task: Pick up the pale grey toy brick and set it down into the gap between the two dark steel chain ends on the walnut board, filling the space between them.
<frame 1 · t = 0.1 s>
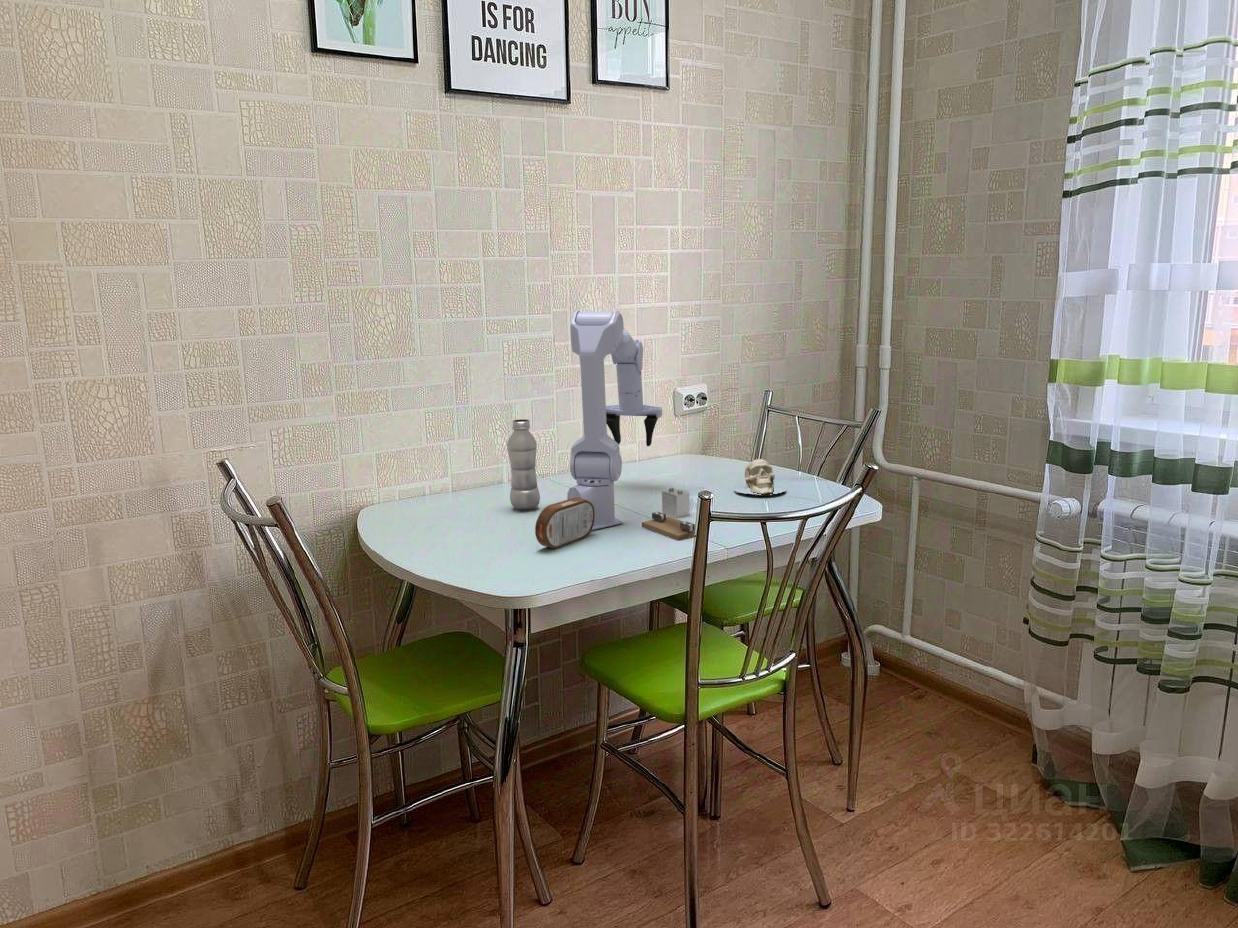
hand: (633, 444, 220), 11 cm above the table, tool pointing down, fingers open, 7 cm apart
board: (673, 530, 187), on the table
grey toy brick: (675, 514, 199), on the table
skull: (759, 493, 215), on the table
chain ends: (672, 521, 187), on the board, point 1 cm above the table
plastic bottle: (525, 509, 206), on the table
tin: (567, 543, 181), on the table
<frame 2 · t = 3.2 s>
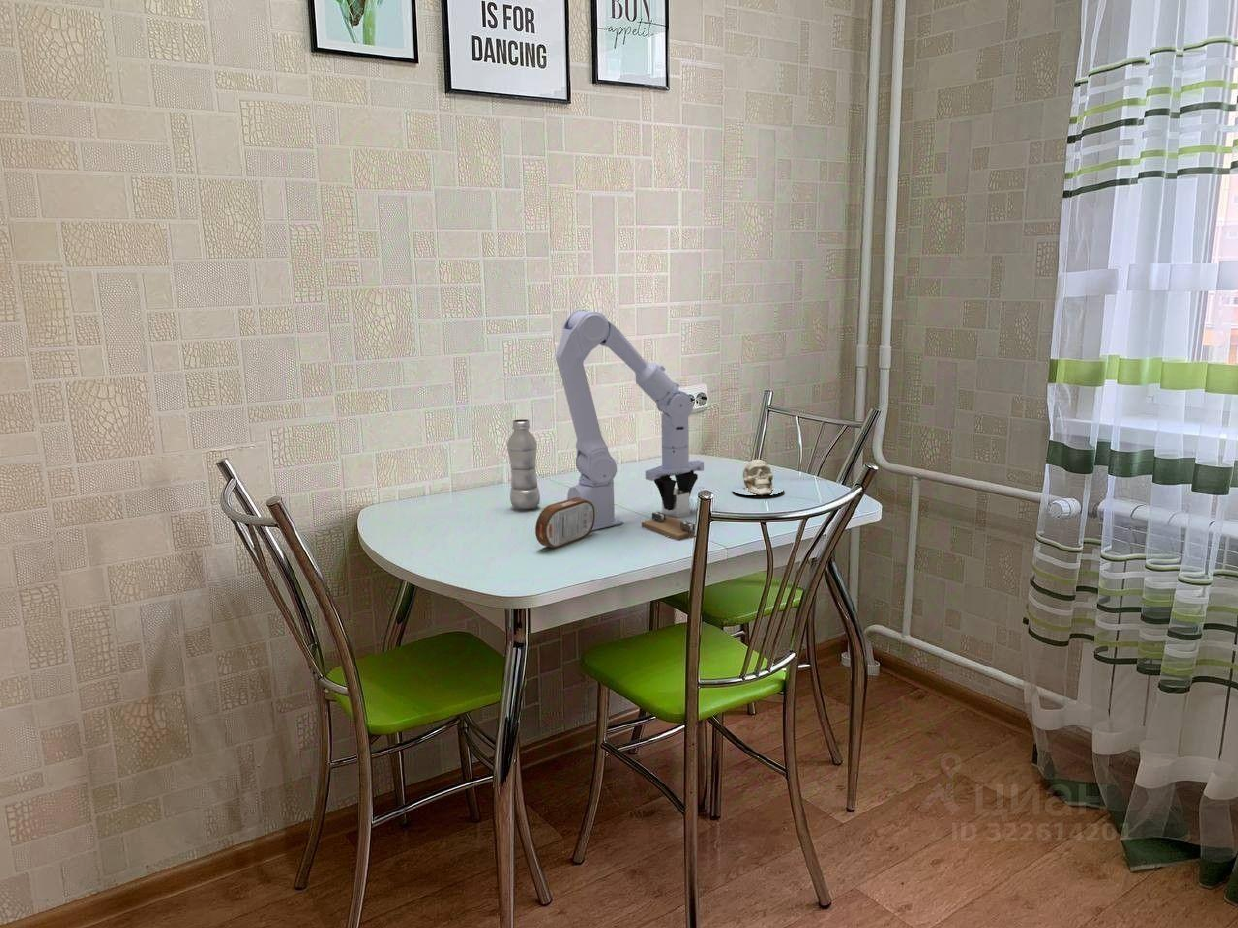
hand: (675, 507, 198), 1 cm above the table, tool pointing down, fingers closed on grey toy brick, 3 cm apart
grey toy brick: (675, 513, 199), on the table, touching gripper
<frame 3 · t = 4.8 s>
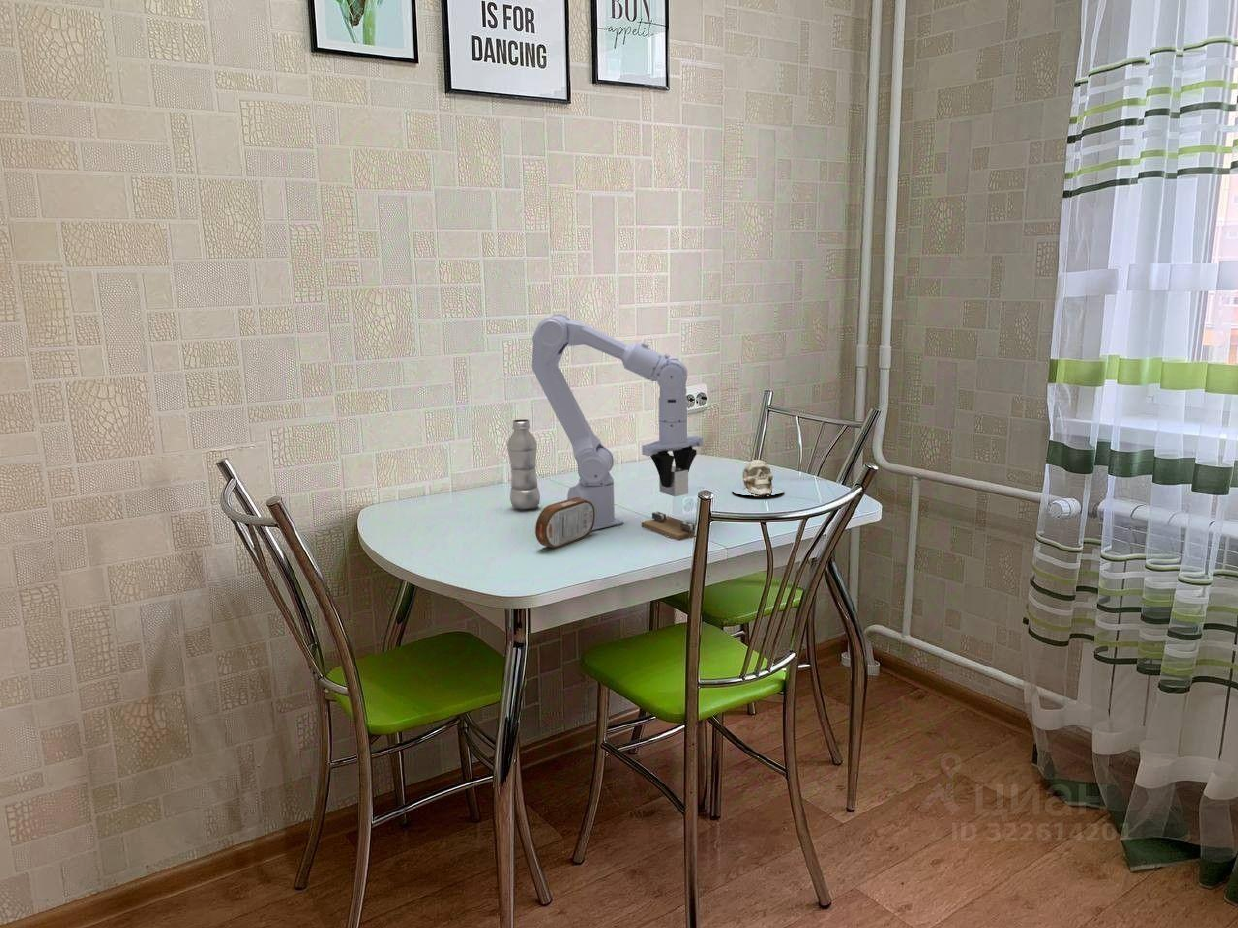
hand: (673, 485, 189), 8 cm above the table, tool pointing down, fingers closed on grey toy brick, 3 cm apart
grey toy brick: (673, 492, 190), point 7 cm above the table, touching gripper
when the fingers open (3 cm above the table, at t = 6.8 s): grey toy brick stays where it is, resting on board.
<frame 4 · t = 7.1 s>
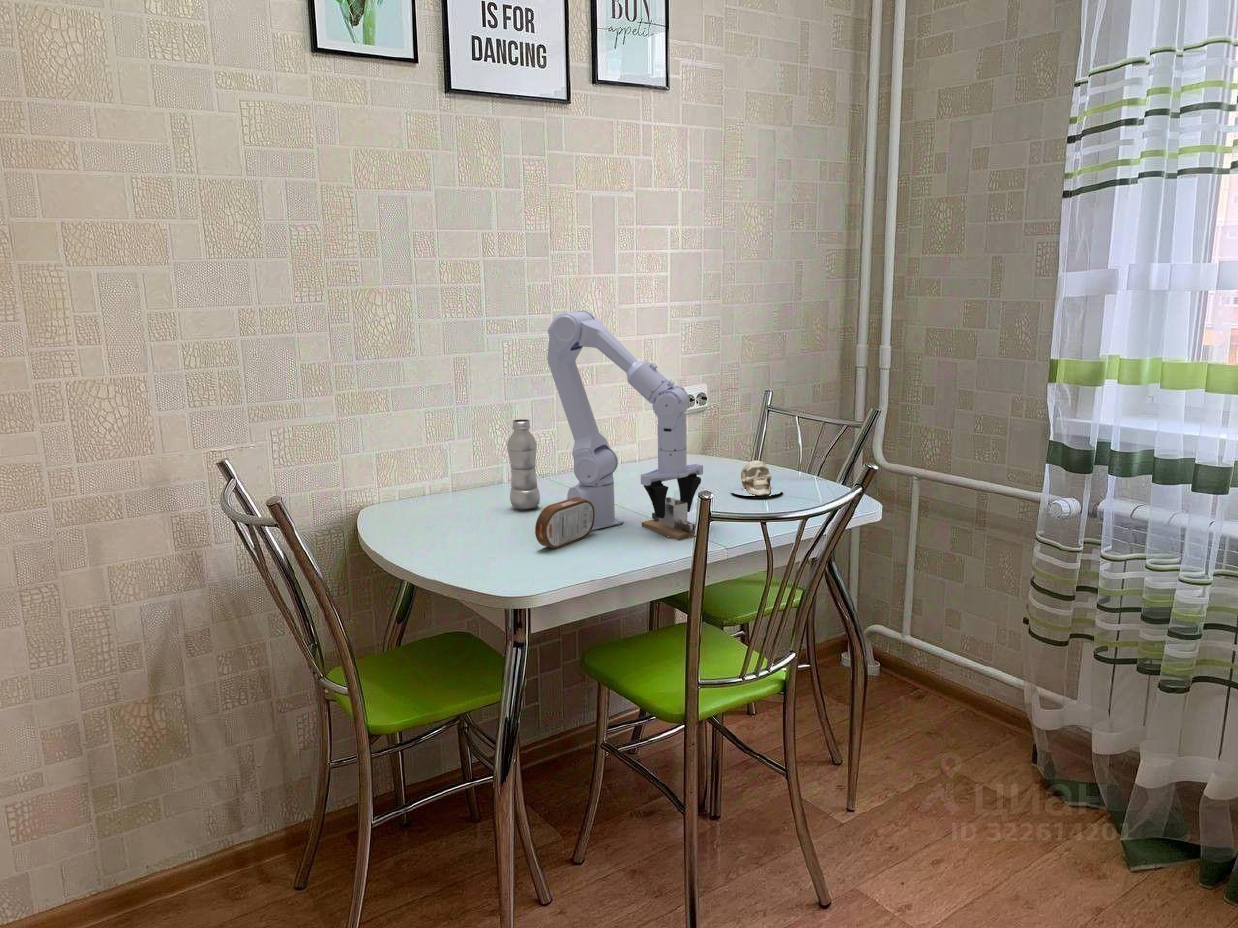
hand: (672, 514, 186), 3 cm above the table, tool pointing down, fingers open, 6 cm apart
grey toy brick: (673, 525, 187), point 1 cm above the table, touching board
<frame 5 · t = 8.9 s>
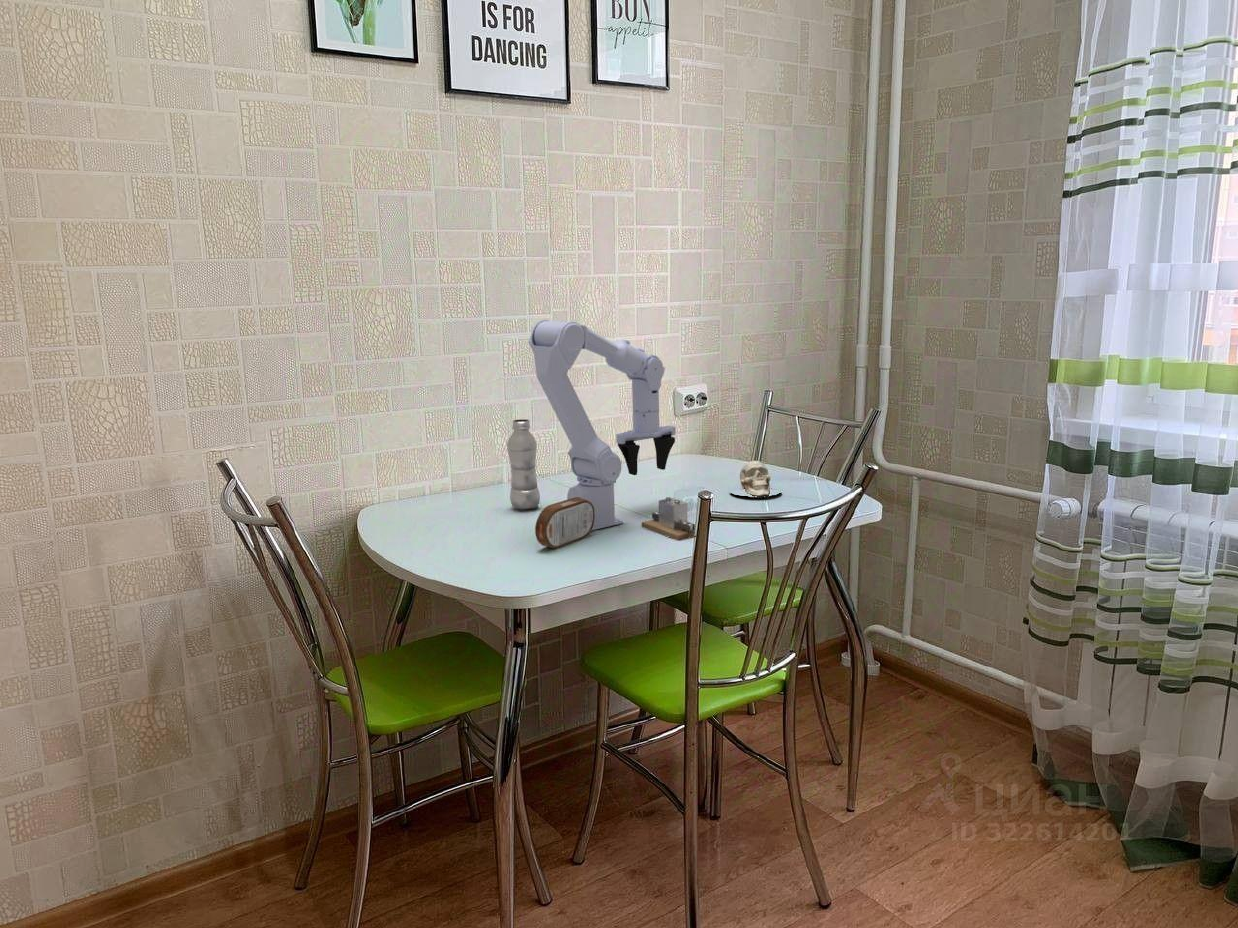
hand: (647, 471, 201), 8 cm above the table, tool pointing down, fingers open, 7 cm apart
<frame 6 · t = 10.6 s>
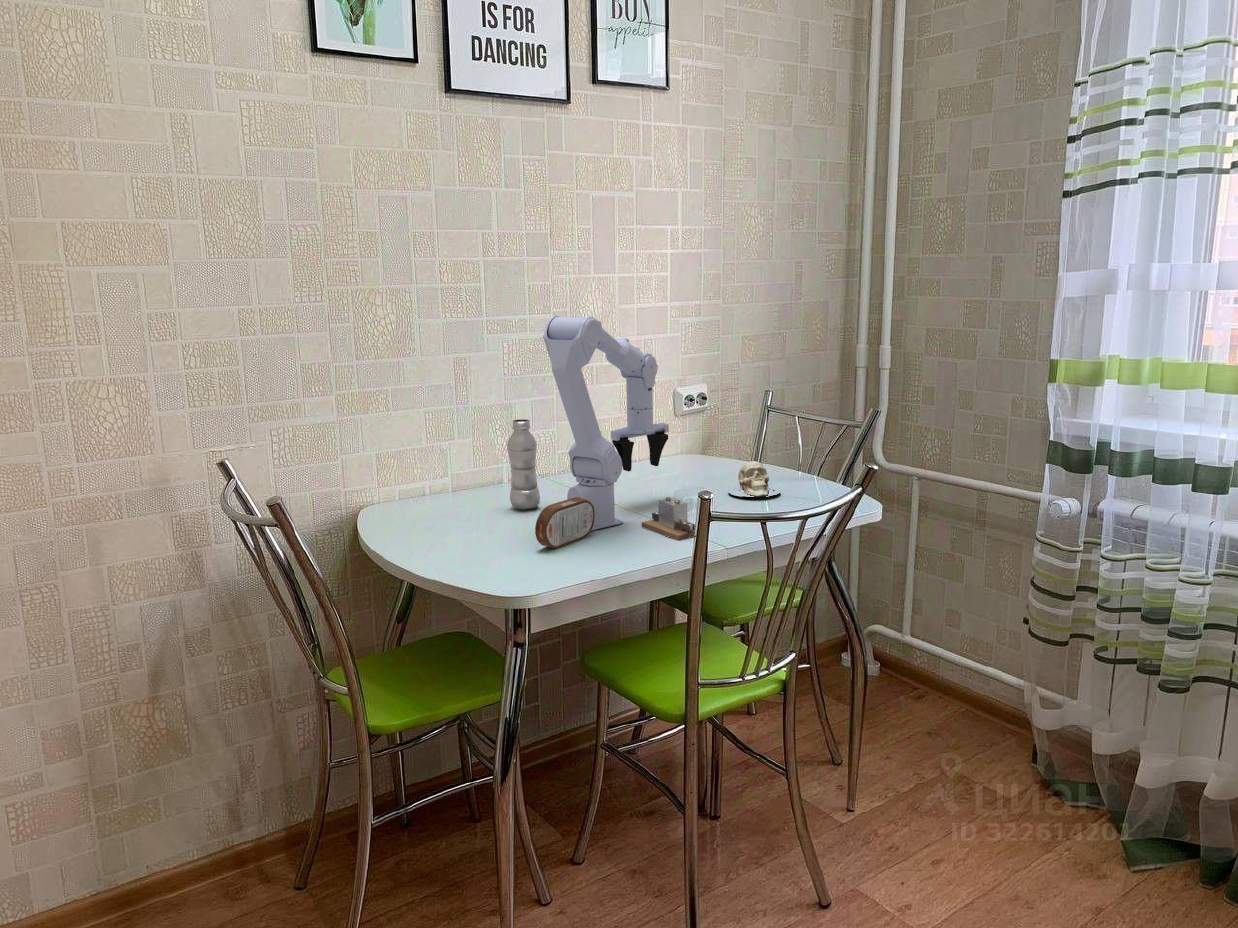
hand: (640, 467, 205), 8 cm above the table, tool pointing down, fingers open, 7 cm apart
at the end: grey toy brick 0.0 cm from the target spot, point 1.0 cm above the table; grey toy brick tilted 0°; the gripper is holding nothing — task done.
